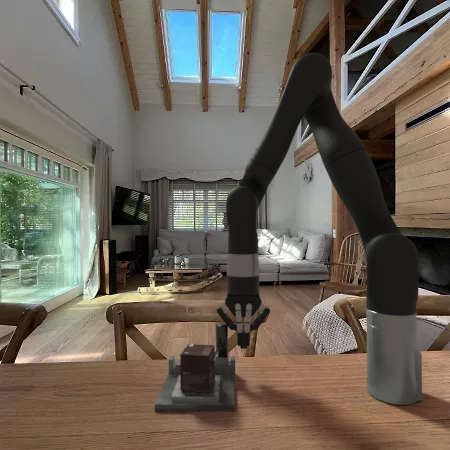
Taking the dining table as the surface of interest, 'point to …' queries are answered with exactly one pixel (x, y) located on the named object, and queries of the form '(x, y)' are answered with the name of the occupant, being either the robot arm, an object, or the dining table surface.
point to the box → (197, 368)
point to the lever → (221, 344)
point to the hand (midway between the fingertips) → (243, 347)
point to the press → (198, 401)
